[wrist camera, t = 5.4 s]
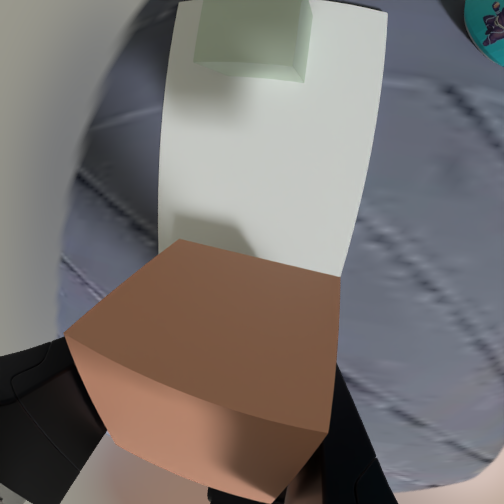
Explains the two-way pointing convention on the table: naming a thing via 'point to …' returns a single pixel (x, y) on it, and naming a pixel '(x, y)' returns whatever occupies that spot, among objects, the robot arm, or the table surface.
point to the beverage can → (486, 27)
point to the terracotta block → (215, 366)
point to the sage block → (255, 38)
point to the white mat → (272, 144)
